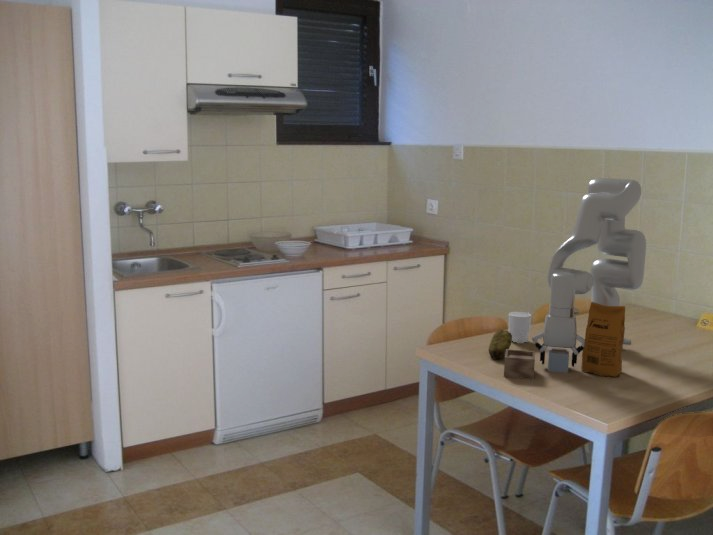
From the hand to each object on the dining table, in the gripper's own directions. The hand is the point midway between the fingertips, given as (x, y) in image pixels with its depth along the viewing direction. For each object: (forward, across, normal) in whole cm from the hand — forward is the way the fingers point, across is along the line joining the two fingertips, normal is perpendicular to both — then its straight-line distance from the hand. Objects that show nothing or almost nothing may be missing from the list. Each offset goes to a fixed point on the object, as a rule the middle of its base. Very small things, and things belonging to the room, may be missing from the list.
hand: (557, 364), depth 238 cm
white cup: (+2, +13, -30) cm, 33 cm away
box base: (+2, +12, +8) cm, 14 cm away
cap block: (+2, 0, 0) cm, 2 cm away
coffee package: (+2, -13, -1) cm, 14 cm away
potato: (+2, +19, -10) cm, 21 cm away
